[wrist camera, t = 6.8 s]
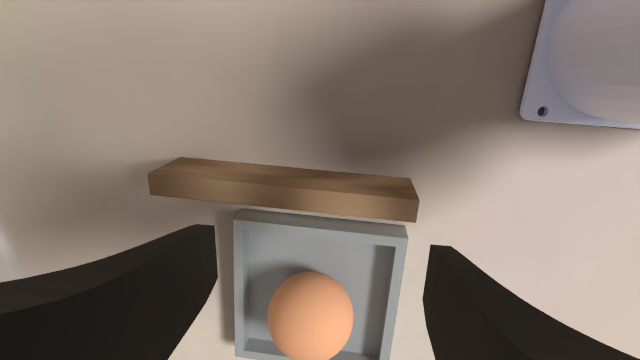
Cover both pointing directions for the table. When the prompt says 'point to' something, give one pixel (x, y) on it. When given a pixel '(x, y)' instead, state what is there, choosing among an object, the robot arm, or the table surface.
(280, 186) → the rail
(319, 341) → the ball
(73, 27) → the table surface
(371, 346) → the dish
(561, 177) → the table surface
